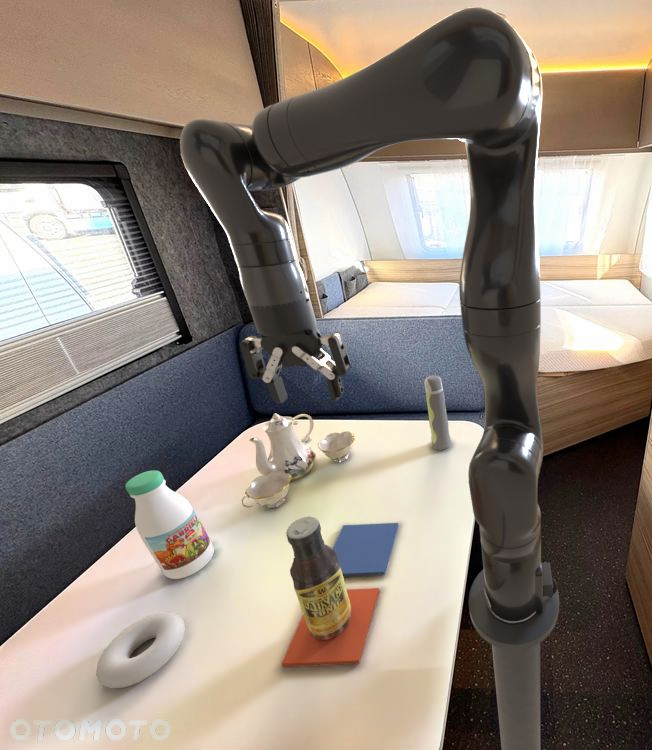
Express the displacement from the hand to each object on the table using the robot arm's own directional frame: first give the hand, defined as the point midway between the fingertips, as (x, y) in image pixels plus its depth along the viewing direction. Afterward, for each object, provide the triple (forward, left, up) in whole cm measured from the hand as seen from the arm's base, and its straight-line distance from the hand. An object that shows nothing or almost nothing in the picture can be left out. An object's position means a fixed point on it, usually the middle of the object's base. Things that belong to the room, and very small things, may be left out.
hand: (310, 399), depth 59 cm
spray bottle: (-13, -31, -32) cm, 47 cm away
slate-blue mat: (-2, +1, -32) cm, 32 cm away
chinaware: (+20, -22, -32) cm, 44 cm away
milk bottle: (+30, +2, -32) cm, 44 cm away
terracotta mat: (-2, +15, -32) cm, 35 cm away
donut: (+25, +18, -32) cm, 45 cm away
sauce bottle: (-2, +15, -32) cm, 35 cm away
